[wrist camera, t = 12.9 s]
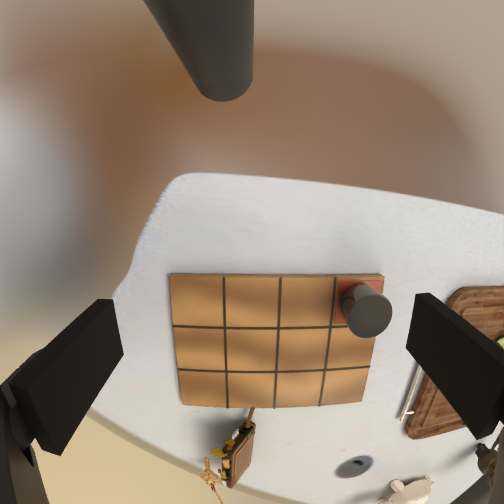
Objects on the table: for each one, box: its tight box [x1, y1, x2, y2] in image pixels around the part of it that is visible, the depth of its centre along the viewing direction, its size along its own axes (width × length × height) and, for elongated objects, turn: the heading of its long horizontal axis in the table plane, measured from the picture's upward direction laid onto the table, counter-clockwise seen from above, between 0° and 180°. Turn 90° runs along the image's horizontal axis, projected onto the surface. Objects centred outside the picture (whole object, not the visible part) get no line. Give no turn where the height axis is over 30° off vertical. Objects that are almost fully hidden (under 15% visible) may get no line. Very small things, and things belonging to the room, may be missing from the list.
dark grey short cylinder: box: [338, 282, 392, 338], centre depth 32 cm, size 5×5×4 cm
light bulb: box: [475, 443, 498, 489], centre depth 36 cm, size 6×6×15 cm
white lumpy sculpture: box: [378, 476, 434, 504], centre depth 41 cm, size 9×8×15 cm
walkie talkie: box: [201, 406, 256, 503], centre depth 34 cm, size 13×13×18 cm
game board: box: [169, 273, 384, 408], centre depth 36 cm, size 18×24×1 cm
